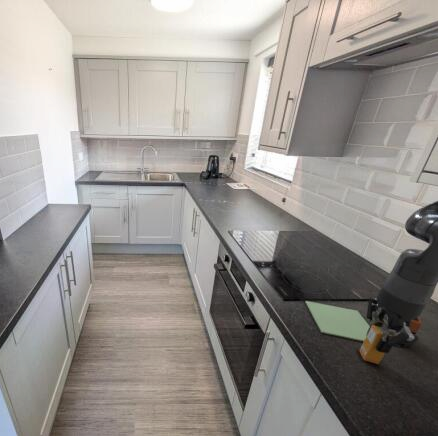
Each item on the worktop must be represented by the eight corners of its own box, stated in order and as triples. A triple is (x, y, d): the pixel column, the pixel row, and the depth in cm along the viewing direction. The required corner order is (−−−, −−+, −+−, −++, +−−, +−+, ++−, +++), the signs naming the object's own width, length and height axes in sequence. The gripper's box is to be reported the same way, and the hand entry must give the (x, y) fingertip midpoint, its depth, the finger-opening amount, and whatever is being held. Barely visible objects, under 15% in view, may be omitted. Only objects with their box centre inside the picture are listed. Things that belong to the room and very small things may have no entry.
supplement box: (372, 353, 64) (388, 328, 60) (378, 365, 61) (395, 338, 57) (357, 349, 65) (372, 323, 61) (362, 360, 62) (378, 334, 58)
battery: (387, 339, 69) (402, 313, 65) (384, 325, 74) (398, 301, 70) (407, 347, 67) (424, 321, 63) (403, 333, 71) (418, 308, 68)
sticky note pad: (356, 311, 79) (357, 310, 79) (383, 346, 67) (384, 344, 67) (305, 301, 83) (305, 300, 83) (321, 332, 71) (321, 331, 70)
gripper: (452, 317, 47) (414, 373, 54) (402, 277, 60) (375, 327, 67) (408, 309, 49) (375, 364, 56) (368, 272, 62) (345, 321, 68)
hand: (375, 344), depth 61 cm, fingers closed on supplement box, 3 cm apart
